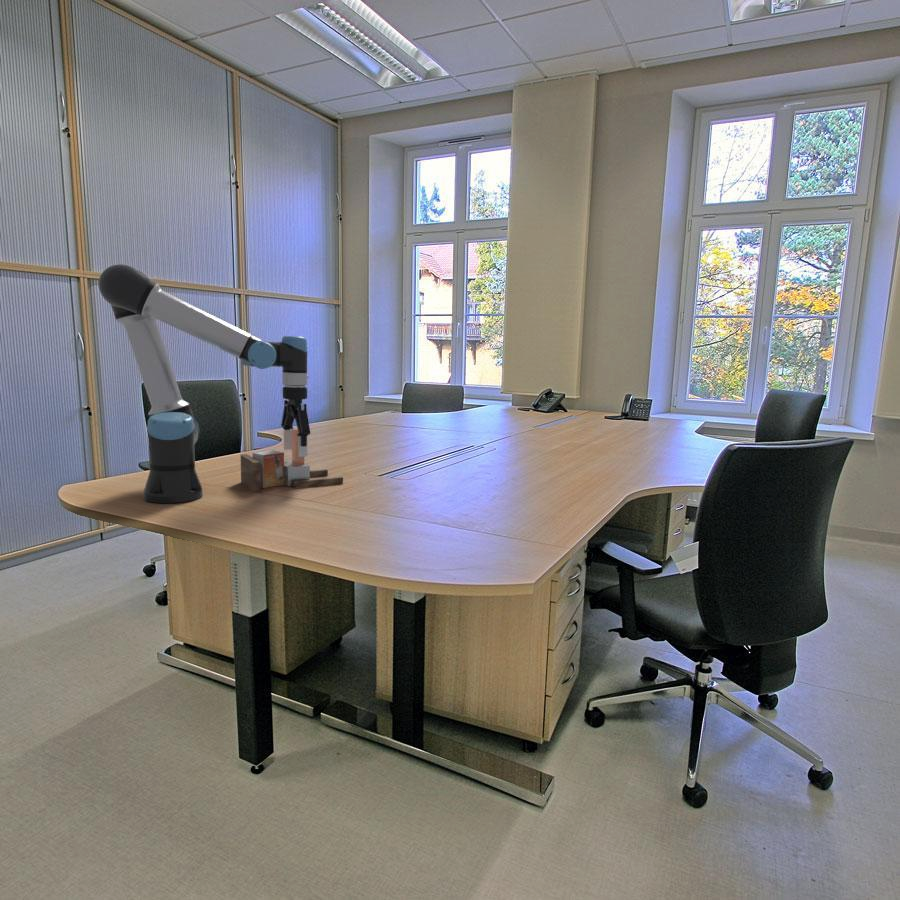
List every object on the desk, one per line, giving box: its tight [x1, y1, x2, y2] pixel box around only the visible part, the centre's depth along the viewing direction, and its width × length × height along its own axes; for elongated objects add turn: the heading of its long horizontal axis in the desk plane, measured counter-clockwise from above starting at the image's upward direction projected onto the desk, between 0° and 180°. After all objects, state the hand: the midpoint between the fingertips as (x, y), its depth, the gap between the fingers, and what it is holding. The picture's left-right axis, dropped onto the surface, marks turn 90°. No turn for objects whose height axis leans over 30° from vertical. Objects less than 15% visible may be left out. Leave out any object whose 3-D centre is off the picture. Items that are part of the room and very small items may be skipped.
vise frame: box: [240, 453, 344, 493], centre depth 192 cm, size 28×15×9 cm, turn 123°
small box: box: [252, 449, 285, 489], centre depth 188 cm, size 8×6×10 cm
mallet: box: [284, 428, 311, 487], centre depth 192 cm, size 7×10×17 cm
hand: (295, 453), depth 192 cm, fingers open, 13 cm apart
